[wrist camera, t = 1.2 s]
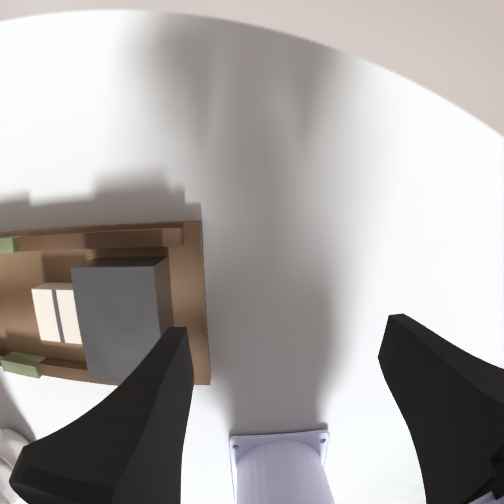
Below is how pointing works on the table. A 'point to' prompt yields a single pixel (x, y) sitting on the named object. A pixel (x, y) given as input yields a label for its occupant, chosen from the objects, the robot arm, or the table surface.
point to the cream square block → (56, 312)
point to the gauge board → (58, 271)
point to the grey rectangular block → (121, 311)
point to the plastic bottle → (9, 462)
